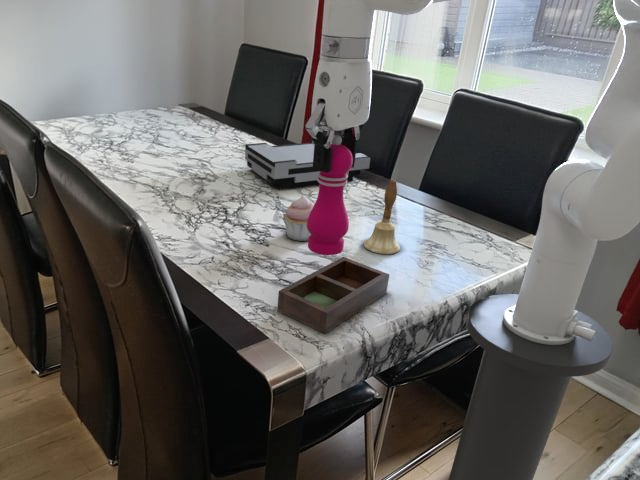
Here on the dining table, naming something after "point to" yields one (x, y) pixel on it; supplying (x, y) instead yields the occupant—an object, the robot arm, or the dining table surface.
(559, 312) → the robot arm
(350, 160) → the pepper mill
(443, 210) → the dining table surface
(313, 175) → the game console
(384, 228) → the hand bell
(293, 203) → the cupcake
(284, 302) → the holder
